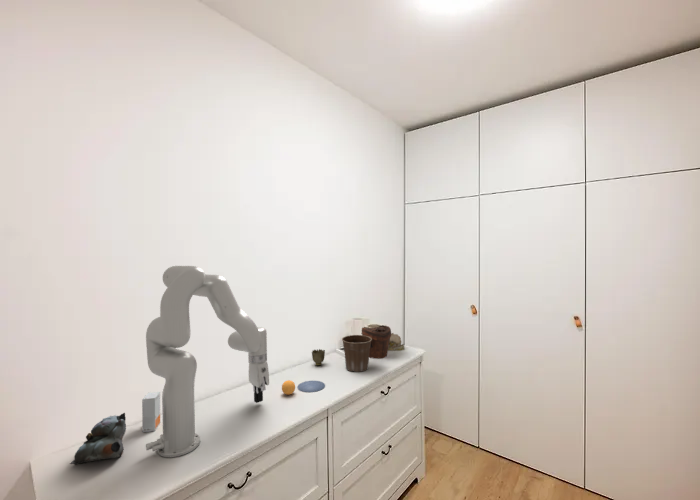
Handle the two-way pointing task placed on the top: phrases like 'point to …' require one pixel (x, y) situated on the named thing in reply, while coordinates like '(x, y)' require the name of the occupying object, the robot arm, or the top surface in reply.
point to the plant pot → (356, 352)
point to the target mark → (311, 386)
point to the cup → (318, 356)
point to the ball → (288, 387)
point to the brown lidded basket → (378, 340)
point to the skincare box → (150, 412)
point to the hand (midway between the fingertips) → (258, 401)
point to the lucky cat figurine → (103, 440)
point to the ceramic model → (395, 343)
